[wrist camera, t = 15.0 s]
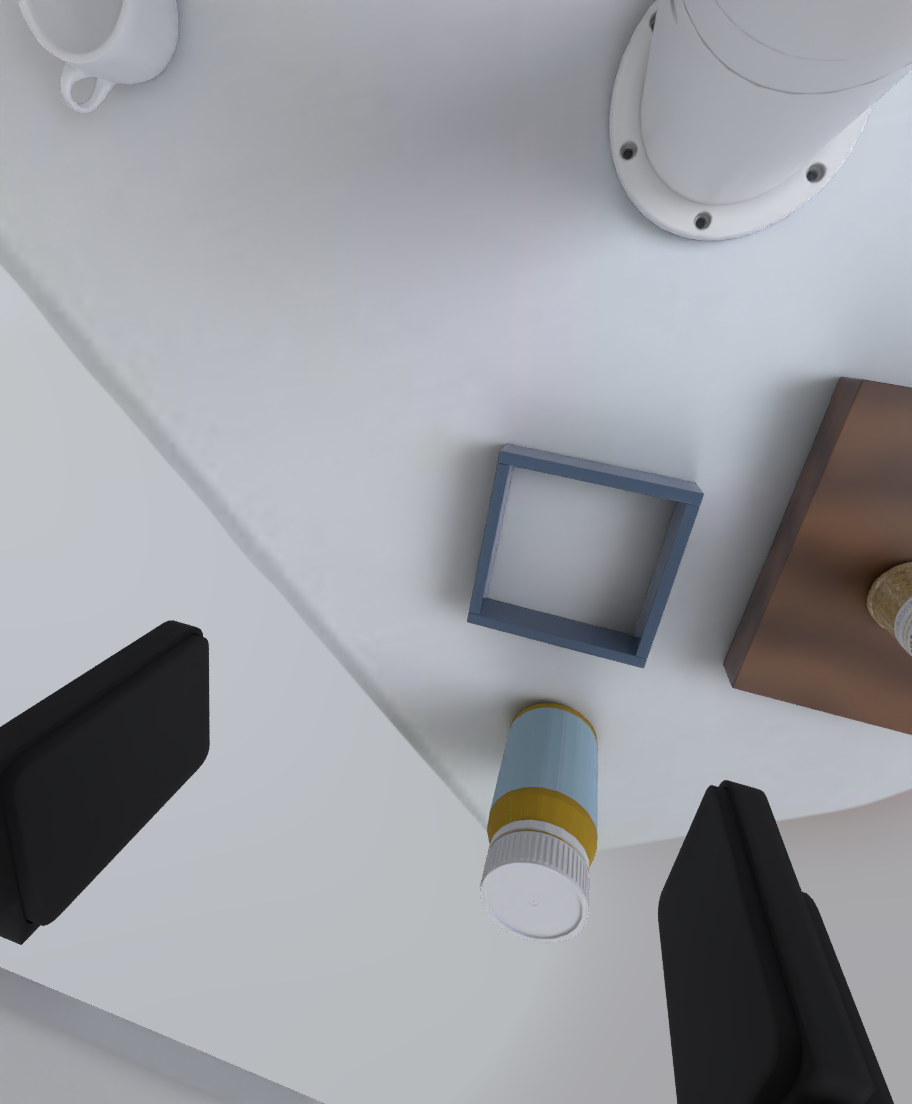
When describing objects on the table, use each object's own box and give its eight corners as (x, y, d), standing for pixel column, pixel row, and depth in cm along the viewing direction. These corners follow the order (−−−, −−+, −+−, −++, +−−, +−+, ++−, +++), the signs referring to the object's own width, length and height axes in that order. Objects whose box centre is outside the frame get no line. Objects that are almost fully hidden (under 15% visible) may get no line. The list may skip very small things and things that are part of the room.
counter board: (840, 376, 32) (862, 379, 30) (1095, 420, 30) (1145, 427, 28) (722, 664, 40) (731, 688, 37) (921, 715, 38) (946, 744, 35)
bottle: (605, 709, 43) (607, 877, 30) (588, 779, 46) (584, 963, 32) (516, 689, 45) (479, 841, 31) (505, 758, 47) (466, 927, 34)
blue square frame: (506, 443, 38) (499, 450, 35) (696, 482, 36) (704, 493, 33) (474, 604, 43) (466, 622, 40) (640, 647, 41) (643, 668, 38)
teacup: (109, -87, 33) (23, -162, 28) (216, -14, 33) (149, -77, 28) (70, 97, 37) (-10, 59, 32) (165, 161, 37) (99, 133, 32)
